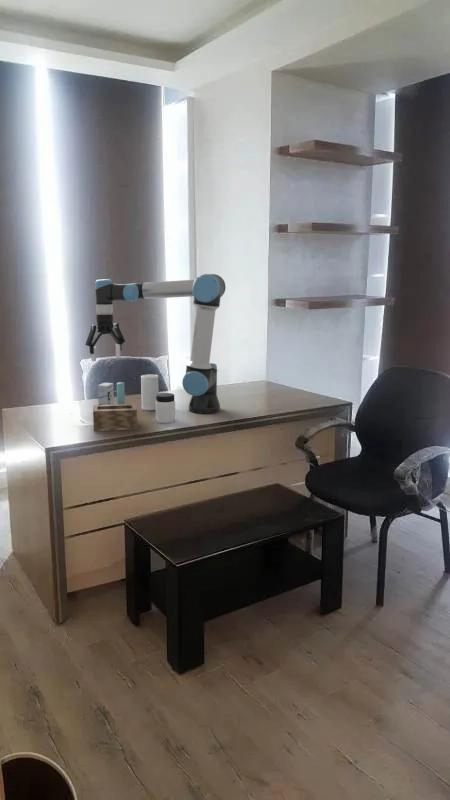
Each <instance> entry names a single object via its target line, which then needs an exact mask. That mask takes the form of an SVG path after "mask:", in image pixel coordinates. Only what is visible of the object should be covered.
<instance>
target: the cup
mask: <svg viewBox="0 0 450 800" xmlns="http://www.w3.org/2000/svg"><path fill="white" fill-rule="evenodd" d="M140 386H141V387H140V391H141V394H140V395H141V396H140V397H141V398H140V399H141V401H140V402H141V410H144V411H156V395H157V394H159V375H158V374H149V373H148V374H142V375H141V376H140Z"/></svg>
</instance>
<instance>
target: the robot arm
mask: <svg viewBox="0 0 450 800" xmlns="http://www.w3.org/2000/svg"><path fill="white" fill-rule="evenodd" d="M94 285H95V288H94V291H95V311H96V316H95V317H96V324H91V326H90V331H89V333H88V336H87V340H86V342H85V346H86V347H89V354H90V355H91V362H97V347H96V346H95V345H96V344H97V342H98V341H99V339H100V338H101V336H102V335H110V336H111V338H112V340H114V342H116V343H115V358H117V359H121V358H122V357H121V356H122V355H121V352H122V345H123V344H124V343H125V342H126V339H125V338H124V335H123V334H122V331H121V329H120V323H118V322H116V323H114V314H113V313H114V310H113V309H114V305H113V302H115V301H117V302H118V301H119V302H136V301H137V300H146V299H147V300H148V299H149V300H150V299H168V298H169V299H170V298H185V297H186V298H187V297H188V298H189V297H193V303H192V304H193V305H194V307H195V316H194V317H195V318H194V327H193V335H192V344H191V345H192V346H191V355H190V360H189V362H187V363H186V369H185V374H184V375H183V377H182V382H181V383H182V388H183V390H184V391H185V392H186V393H187V394H188V395H190V396H191V398H190V400H189V404H188V411H189V412H192V413H196V414H213V413H218V412H220V411H221V404H220V400H219V398H218V393H217V392H218V391H217V390H218V389H217V388H218V387H217V386H218V366H217V364H216V363H215V362H214V363H212V362H210V361H211V351H212V341H213V334H214V327H215V326H214V325H215V317H216V311H217V310H218V309H219V308H220V305H221V297H223V295H225V292H226V288H227V287H226V282H225V279H224V278H222V276H220V275H219V274H215V273H205V274H201V275H199V276H198V277H196V278H195V279H184V280H169V281H168V280H165V281H151V282H135V283H134V282H133V283H121V284H120V283H113V282H112V279H96V281H95V284H94ZM113 329H114V330H113Z"/></svg>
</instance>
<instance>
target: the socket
mask: <svg viewBox="0 0 450 800" xmlns="http://www.w3.org/2000/svg"><path fill="white" fill-rule="evenodd" d="M92 410H93V411H92V414H93V415H92V417H93V420H92V421H93V432H106V431H107V432H108V431H130V430H132V431H133V430H138V410H137V405H136V403H125V404H117V403H114V404H108V405H99V404H92Z"/></svg>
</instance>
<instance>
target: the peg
mask: <svg viewBox="0 0 450 800" xmlns="http://www.w3.org/2000/svg"><path fill="white" fill-rule="evenodd" d="M125 397H126V396H125V382H116V404H126V402H125V400H126V399H125Z"/></svg>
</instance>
